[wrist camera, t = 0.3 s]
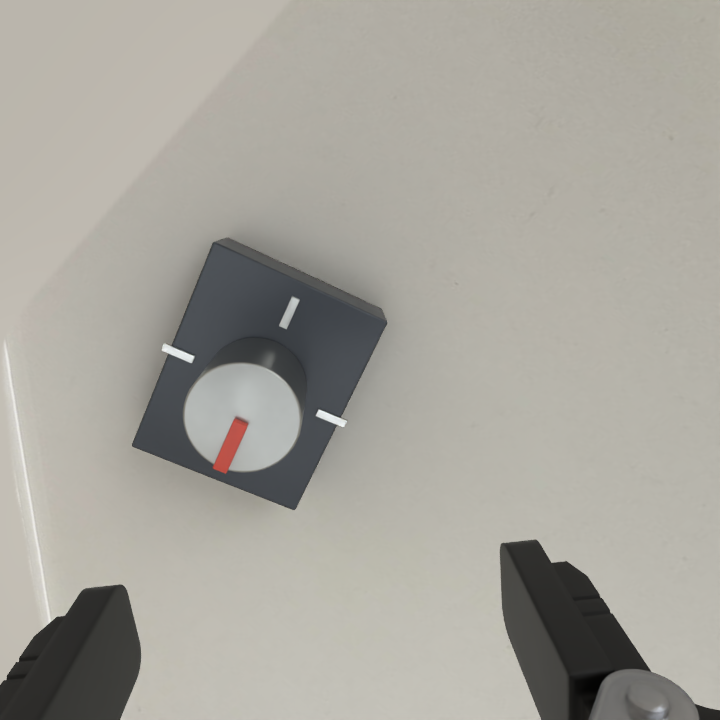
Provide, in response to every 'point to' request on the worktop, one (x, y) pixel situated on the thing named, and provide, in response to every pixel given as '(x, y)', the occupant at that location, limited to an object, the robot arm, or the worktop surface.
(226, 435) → the dial
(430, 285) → the worktop surface
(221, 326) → the control panel
